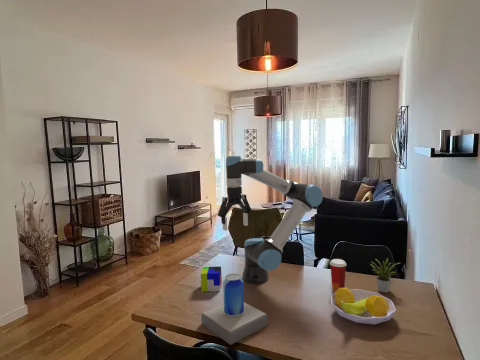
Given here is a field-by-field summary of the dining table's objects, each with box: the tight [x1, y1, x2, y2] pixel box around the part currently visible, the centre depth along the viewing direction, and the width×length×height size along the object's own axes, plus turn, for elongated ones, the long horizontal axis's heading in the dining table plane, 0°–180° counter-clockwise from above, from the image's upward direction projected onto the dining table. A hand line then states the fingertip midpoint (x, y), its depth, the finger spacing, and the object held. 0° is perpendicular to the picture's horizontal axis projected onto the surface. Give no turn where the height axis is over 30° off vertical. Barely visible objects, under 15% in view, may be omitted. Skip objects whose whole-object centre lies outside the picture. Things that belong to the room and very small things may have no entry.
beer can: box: [222, 273, 245, 317], centre depth 131 cm, size 8×8×16 cm
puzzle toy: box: [200, 265, 223, 292], centre depth 169 cm, size 10×10×10 cm
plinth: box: [200, 301, 269, 346], centre depth 132 cm, size 20×20×5 cm
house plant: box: [369, 258, 401, 293], centre depth 159 cm, size 14×14×16 cm
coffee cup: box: [329, 258, 347, 292], centre depth 162 cm, size 8×8×15 cm
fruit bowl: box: [330, 287, 397, 326], centre depth 136 cm, size 28×27×11 cm
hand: (235, 227), depth 159 cm, fingers open, 13 cm apart
